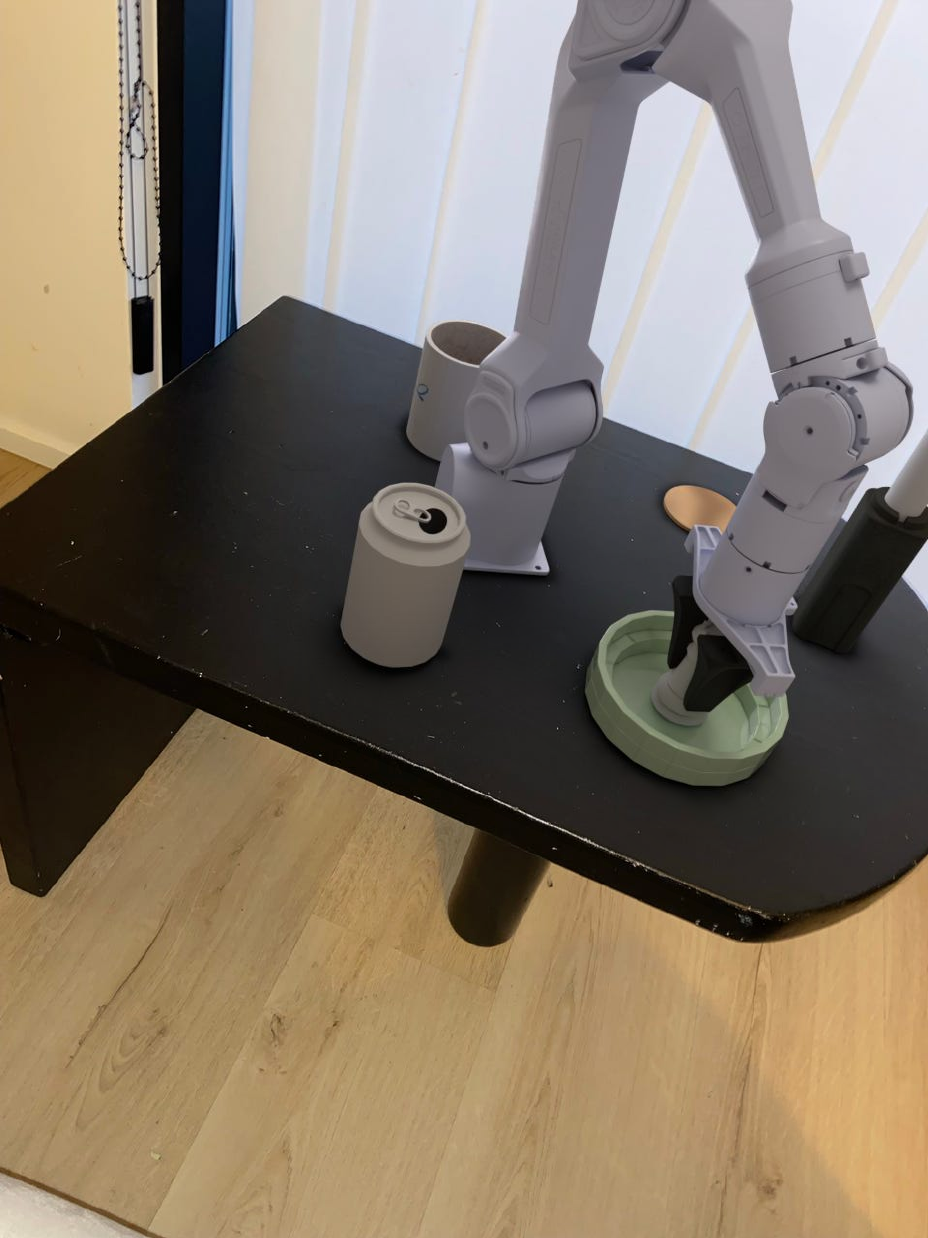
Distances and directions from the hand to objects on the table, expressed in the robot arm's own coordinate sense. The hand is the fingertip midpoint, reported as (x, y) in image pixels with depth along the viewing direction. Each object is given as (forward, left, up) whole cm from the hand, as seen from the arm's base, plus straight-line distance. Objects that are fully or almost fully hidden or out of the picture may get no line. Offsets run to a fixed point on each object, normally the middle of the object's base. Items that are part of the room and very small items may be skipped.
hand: (688, 687), depth 69 cm
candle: (+17, +10, -3) cm, 20 cm away
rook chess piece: (0, 0, -2) cm, 2 cm away
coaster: (+11, +25, -3) cm, 27 cm away
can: (-21, +6, -3) cm, 22 cm away
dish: (0, 0, -3) cm, 3 cm away
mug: (-12, +35, -3) cm, 37 cm away
